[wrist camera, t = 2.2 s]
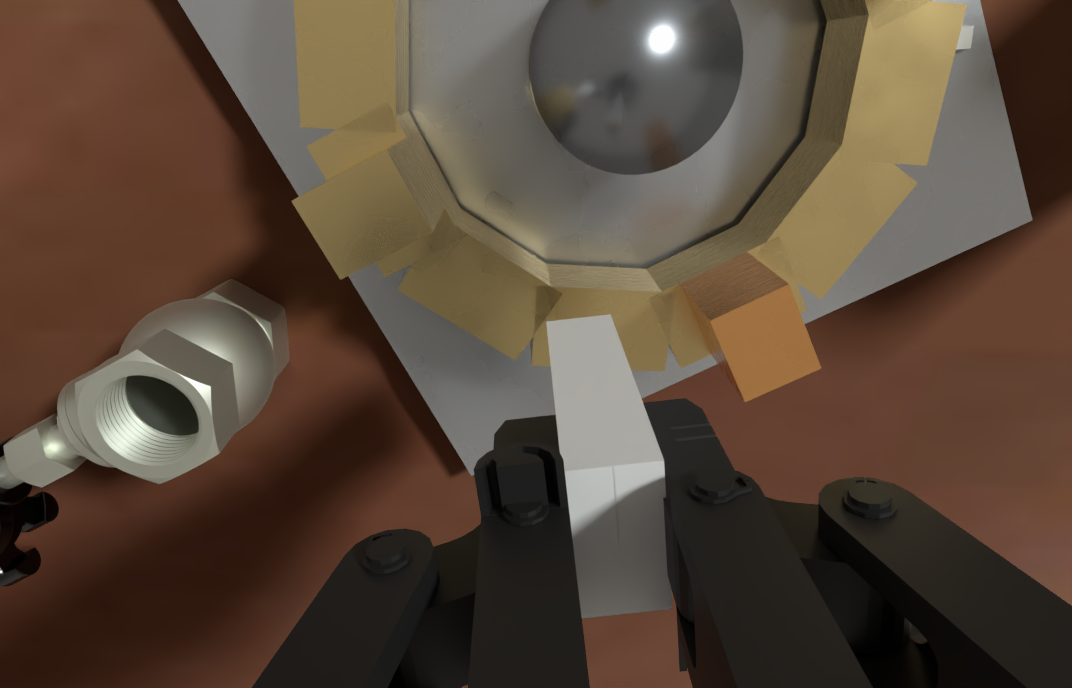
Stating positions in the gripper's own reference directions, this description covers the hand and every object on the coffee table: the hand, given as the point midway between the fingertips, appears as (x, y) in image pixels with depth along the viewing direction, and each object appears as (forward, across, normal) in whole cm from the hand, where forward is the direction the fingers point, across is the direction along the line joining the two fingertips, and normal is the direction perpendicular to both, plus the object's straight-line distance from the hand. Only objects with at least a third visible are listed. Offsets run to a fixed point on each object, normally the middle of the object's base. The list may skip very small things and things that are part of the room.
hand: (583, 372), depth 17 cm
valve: (+8, -15, -2) cm, 17 cm away
